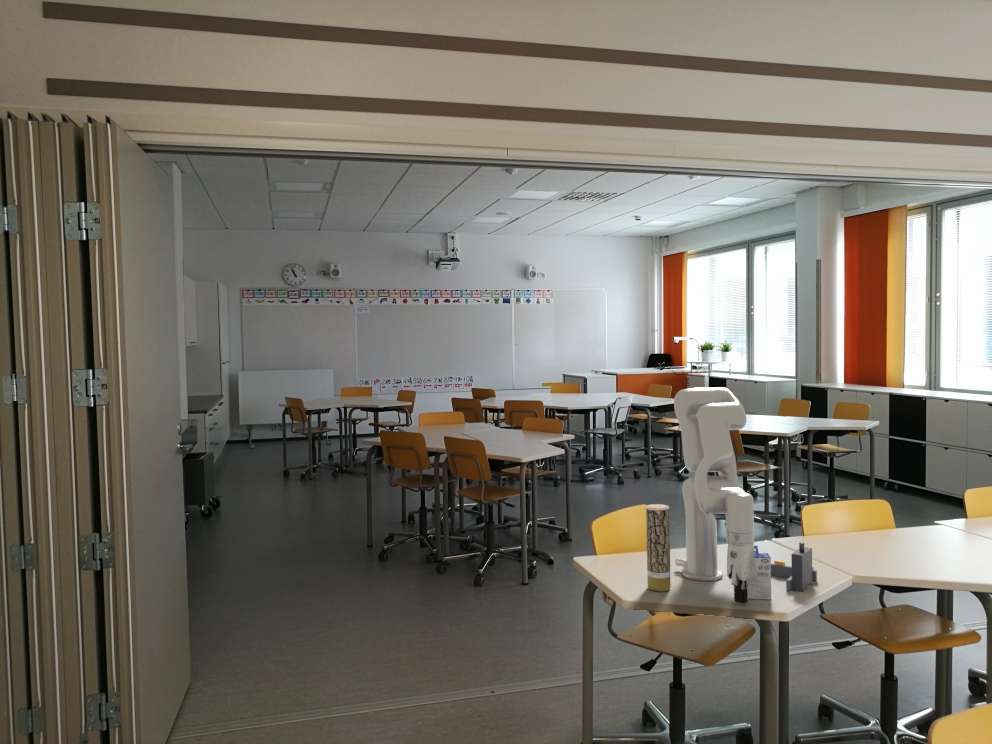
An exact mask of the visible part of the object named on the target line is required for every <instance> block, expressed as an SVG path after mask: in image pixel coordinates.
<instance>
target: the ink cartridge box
mask: <svg viewBox="0 0 992 744" xmlns="http://www.w3.org/2000/svg"><path fill="white" fill-rule="evenodd" d="M754 551H755V564H756V573H755V575H753V576H752V577H750V578H749V579H748V587H747V594H748V599H752V600H753V599H754V600H772V575H771V563H772V561H771V558H772V557H771V556H770V554H769V553H766V552H759V547H758V545H754Z"/></svg>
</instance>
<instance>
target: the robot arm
mask: <svg viewBox="0 0 992 744" xmlns="http://www.w3.org/2000/svg"><path fill="white" fill-rule="evenodd" d="M673 407H674V408H673V409H674V414H675V417H676V419H677V422H678V424H679V427H680V428H679V429H680V432H681V441H682V444H681V445H682V452H683V453H682V454H683V460H684V461H683V462H684V466H685V468H686V470H687V471H689V472H691V473H692V472H693V473H694V476H692V477H689V478H687V479H685V480H684V481H683V483H682V485H681V493H682V499H683V504H684V505H683V506H684V511H685V512H684V514H685V515H684V516H685V545H686V546H685V551H686V552H685V553H686V555H685V556H686V557H685V559H684V558H680V557H679V558H678V557H676V558H675V566H677V567H682V569H681V575H682V576H683V577H684V578H686V579H689V580H694V581H703V582H711V581H717V580H720V579H722V578H723V574H724V573H723V571H721V570H720V569H718V530H717V529H718V528H717V527H718V524H717V519H716V517H715V515H725V542H726V543H727V553H726V576H727V578H728V579H729V580H730V581H731V583H730V584H731V585H732V586H733V598H734V599H733V601H734V603H738V604H744V605H745V604H746V603H748V599H749V598H748V594H747V587H748V579H749V578H750V577H752V576H753V575H755V573H756V564H755V551H756V550H755V548H754V546H755V545H754V544H755V511H754V509H755V507H754V505H755V503H754V497H753V495H752V494H751V493H748V492H746V491H745V490H744V489H743V488H741V487H739V480H738V471H737V470H738V469H737V461H736V455H735V451H734V448H733V442H732V438H731V434H730V431H740V430H742V429H744V428H745V427H746V424H747V414H746V411H745V407H744V406H743V404H742V402H741V401H740V400H739V399H738V398H737V397H736V396H735V395H734V394H733V393H732V391H731V390H730V389H729V388H726V387H722V386H721V387H720V386H719V387H718V386H717V387H690V388H689V387H688V388H684V389H680V390H679V391H677V392H676V393H675V396H674V400H673ZM712 472H713V473H716V472H717V473H718V475H711V476H710V475H708V473H712Z"/></svg>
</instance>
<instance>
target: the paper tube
mask: <svg viewBox="0 0 992 744" xmlns="http://www.w3.org/2000/svg"><path fill="white" fill-rule="evenodd" d="M645 510H646V511H645V512H646V513H645V514H646V515H645V516H646V519H645V520H646V521H645V522H646V563H647V564H646V566H647V567H646V569H647V572H646V573H647V574H646V575H647V588H648V589H649V590H650V589H651V591H653V590H654V591H653V592H667V591H669V590H670V589H671V538H670V536H671V535H670V534H671V533H670V531H671V529H670V527H671V526H670V506H669V505H667V504H661V503H654V504H653V503H651V504H647V505H646V507H645Z"/></svg>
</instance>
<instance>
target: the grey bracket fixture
mask: <svg viewBox="0 0 992 744" xmlns="http://www.w3.org/2000/svg"><path fill="white" fill-rule="evenodd" d="M798 546H799V547H798V549H796V550H795V551H793V552H792V553H791V566H789V565H786V561H783V560H782V561H781V560H774V562H773V563H772V562H771V576H774V577H779V576H780V578H785V577H786V578H787V579H786V580H785V581H786V583H785V584H786V585H785V588H786V593H792V592H796V591H797V592H796V593H801V592H803V593H804V592H805V591H806V590H807V589H809V588H810V587H811V586H812V585H813V583H814V582H816V583H817V582H818V571H817V570H815V566H814V565H813V548H812V547H807V546H805V542H801V541H800V542H798ZM810 585H811V586H810ZM809 586H810V587H809ZM808 587H809V588H808Z"/></svg>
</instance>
